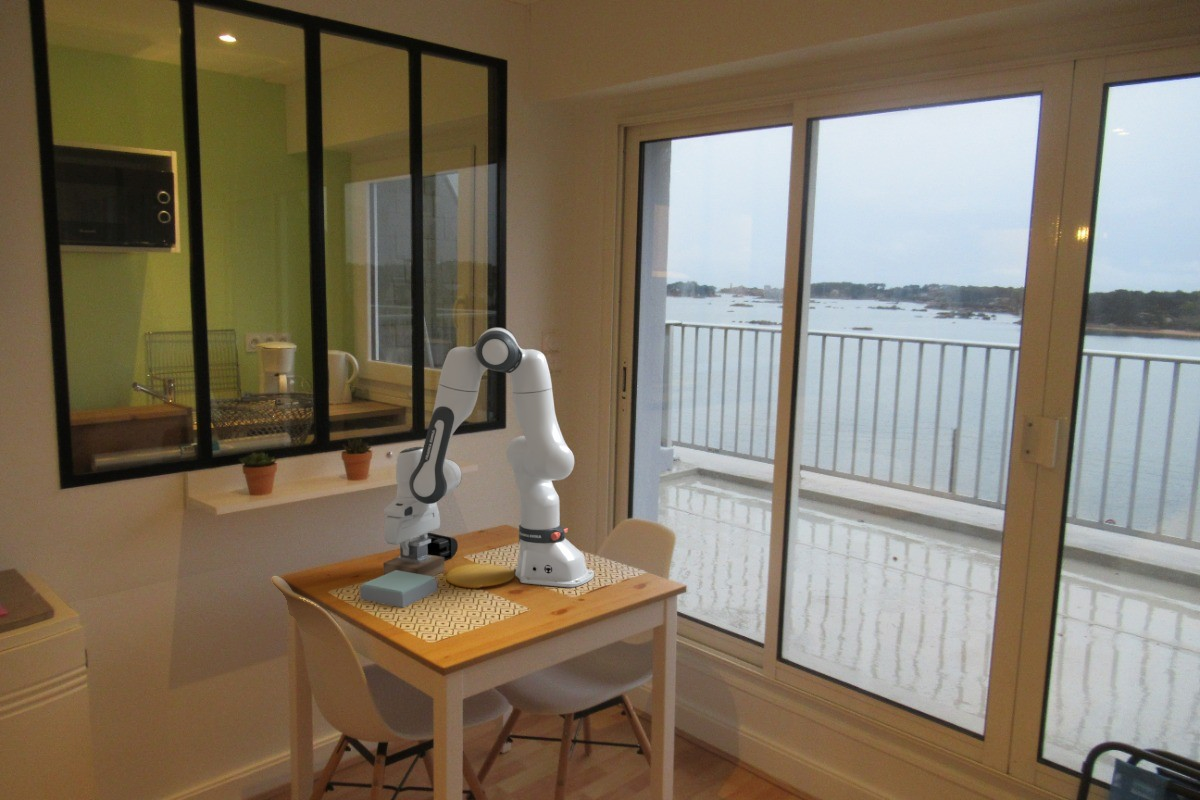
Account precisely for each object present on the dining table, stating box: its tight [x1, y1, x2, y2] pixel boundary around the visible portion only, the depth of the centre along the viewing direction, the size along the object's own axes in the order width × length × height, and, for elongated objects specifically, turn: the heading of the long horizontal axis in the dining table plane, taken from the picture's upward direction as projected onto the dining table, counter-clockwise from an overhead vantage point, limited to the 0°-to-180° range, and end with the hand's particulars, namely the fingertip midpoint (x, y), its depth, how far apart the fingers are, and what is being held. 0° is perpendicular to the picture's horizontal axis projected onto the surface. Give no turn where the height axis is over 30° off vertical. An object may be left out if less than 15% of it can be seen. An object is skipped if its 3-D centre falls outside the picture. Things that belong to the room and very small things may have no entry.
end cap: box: [427, 532, 459, 562], centre depth 256 cm, size 10×7×7 cm
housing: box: [396, 536, 431, 564], centre depth 240 cm, size 8×5×6 cm, turn 63°
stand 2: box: [359, 570, 438, 608], centre depth 223 cm, size 14×14×4 cm
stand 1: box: [383, 555, 446, 577], centre depth 240 cm, size 12×12×4 cm
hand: (414, 552), depth 240 cm, fingers closed on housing, 5 cm apart
